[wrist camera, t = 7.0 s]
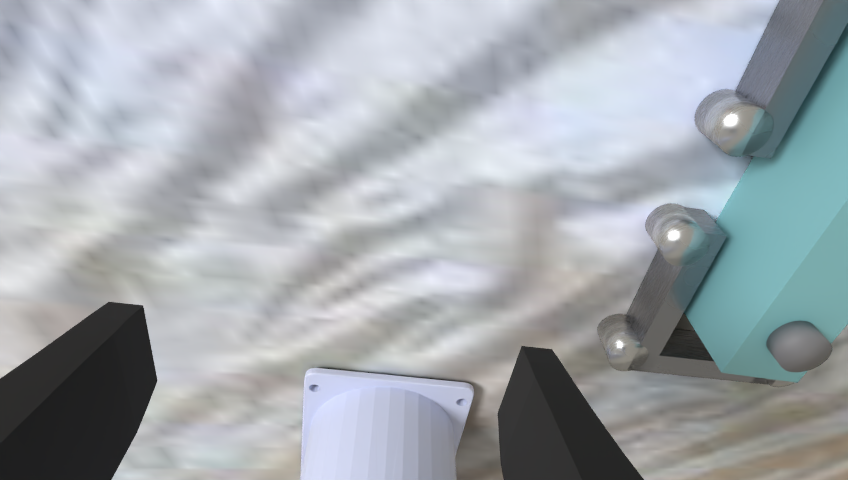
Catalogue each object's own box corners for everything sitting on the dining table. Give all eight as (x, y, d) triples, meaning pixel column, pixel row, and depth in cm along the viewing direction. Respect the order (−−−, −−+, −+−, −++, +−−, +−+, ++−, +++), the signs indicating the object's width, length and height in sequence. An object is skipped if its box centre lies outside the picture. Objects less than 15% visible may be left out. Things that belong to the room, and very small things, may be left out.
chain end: (769, 358, 24) (792, 388, 23) (592, 338, 24) (604, 369, 22) (864, 229, 20) (899, 256, 19) (655, 200, 20) (674, 226, 18)
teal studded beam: (735, 301, 23) (811, 400, 18) (671, 292, 22) (732, 390, 18) (932, 10, 16) (1122, 55, 12) (845, -10, 16) (1008, 29, 12)
